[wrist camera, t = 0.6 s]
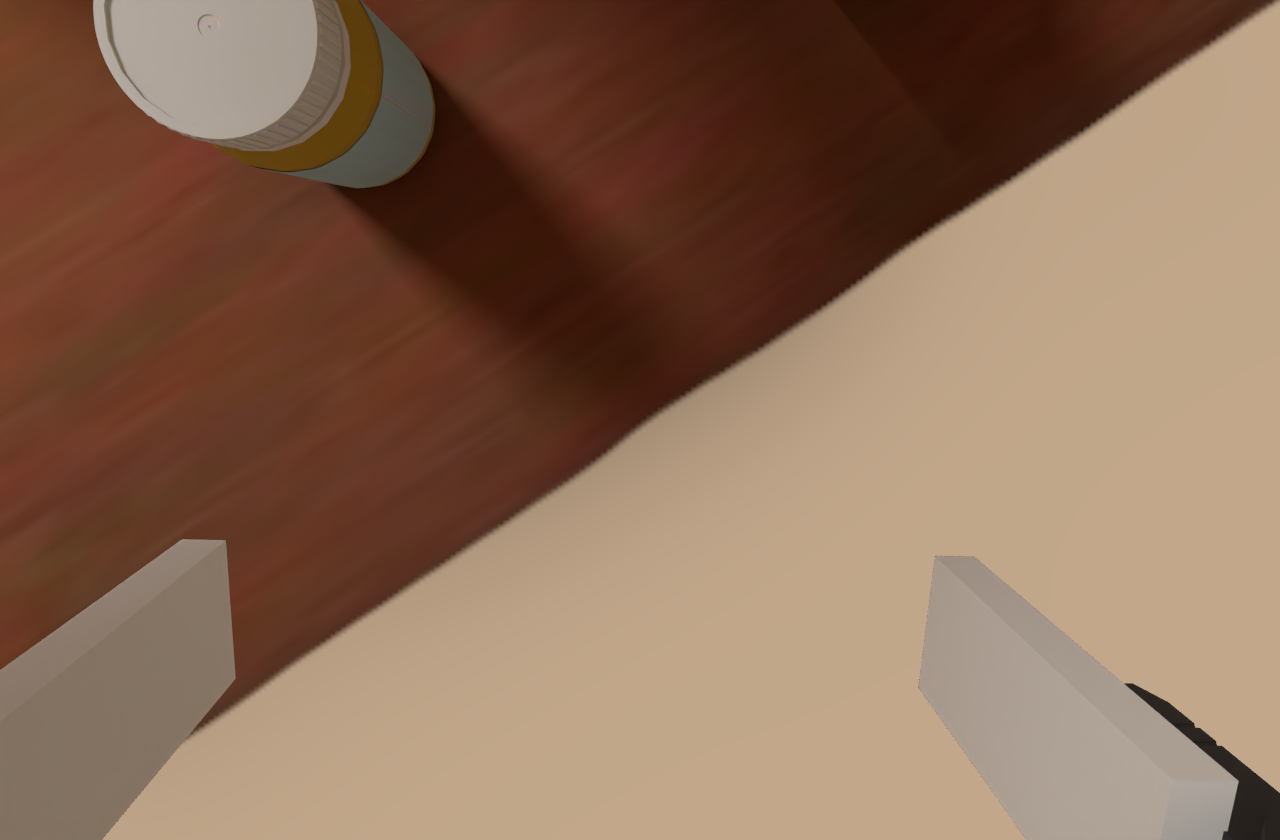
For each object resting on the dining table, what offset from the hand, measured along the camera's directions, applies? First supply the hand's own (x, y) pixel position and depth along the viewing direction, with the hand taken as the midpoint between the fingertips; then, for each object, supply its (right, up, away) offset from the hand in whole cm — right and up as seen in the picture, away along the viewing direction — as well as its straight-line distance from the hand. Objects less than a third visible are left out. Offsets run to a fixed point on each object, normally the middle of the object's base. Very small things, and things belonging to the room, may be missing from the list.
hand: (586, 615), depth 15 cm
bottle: (-12, +18, +22) cm, 31 cm away
